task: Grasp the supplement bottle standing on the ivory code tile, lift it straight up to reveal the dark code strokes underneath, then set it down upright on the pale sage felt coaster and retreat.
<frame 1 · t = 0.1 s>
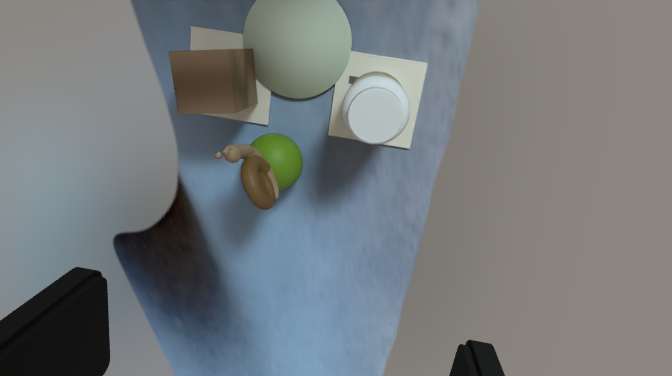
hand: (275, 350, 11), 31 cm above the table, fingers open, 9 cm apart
felt coaster: (297, 42, 38), on the table
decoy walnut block: (230, 77, 39), resting on code tile B, touching felt coaster
snail figurine: (278, 150, 42), on the table
supplement bottle: (376, 100, 39), resting on code tile A
code tile A: (376, 100, 39), on the table
code tile B: (231, 76, 39), on the table
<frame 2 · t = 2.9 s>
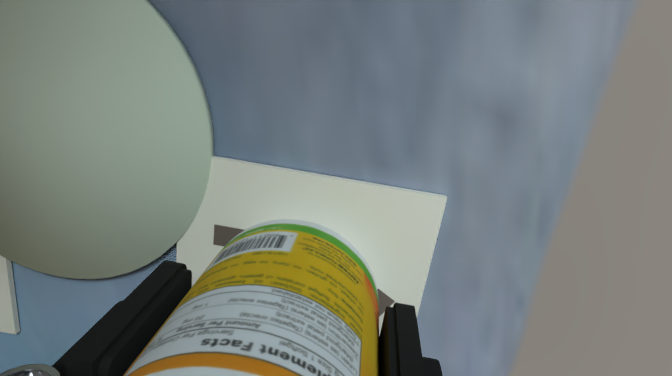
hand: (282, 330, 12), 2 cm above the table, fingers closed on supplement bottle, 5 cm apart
felt coaster: (55, 128, 13), on the table
supplement bottle: (296, 287, 14), resting on code tile A, touching gripper
code tile A: (296, 287, 14), on the table
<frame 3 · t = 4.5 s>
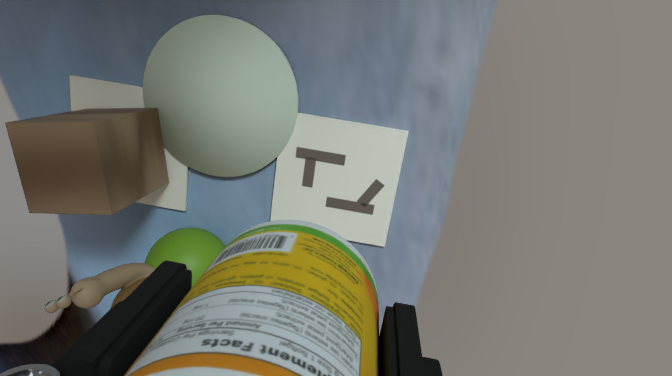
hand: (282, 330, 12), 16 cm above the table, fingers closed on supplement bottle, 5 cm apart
felt coaster: (221, 99, 26), on the table
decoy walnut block: (128, 146, 27), resting on code tile B, touching felt coaster
snail figurine: (203, 243, 30), on the table
supplement bottle: (296, 288, 14), point 14 cm above the table, touching gripper
code tile A: (335, 180, 27), on the table
code tile B: (131, 145, 28), on the table
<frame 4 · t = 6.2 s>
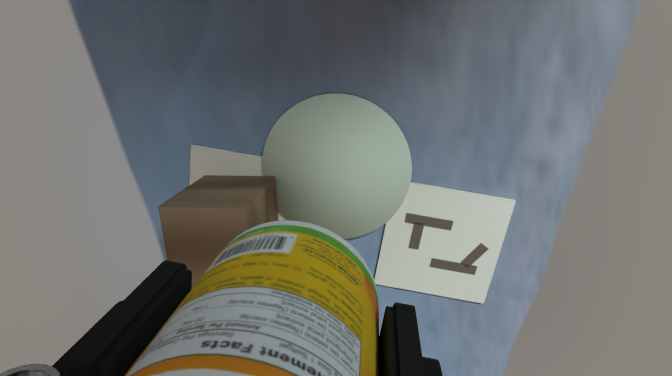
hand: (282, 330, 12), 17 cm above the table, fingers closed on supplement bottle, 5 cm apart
felt coaster: (336, 169, 28), on the table
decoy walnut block: (243, 209, 29), resting on code tile B, touching felt coaster
supplement bottle: (296, 288, 14), point 15 cm above the table, touching gripper
code tile A: (440, 243, 29), on the table
code tile B: (244, 208, 29), on the table
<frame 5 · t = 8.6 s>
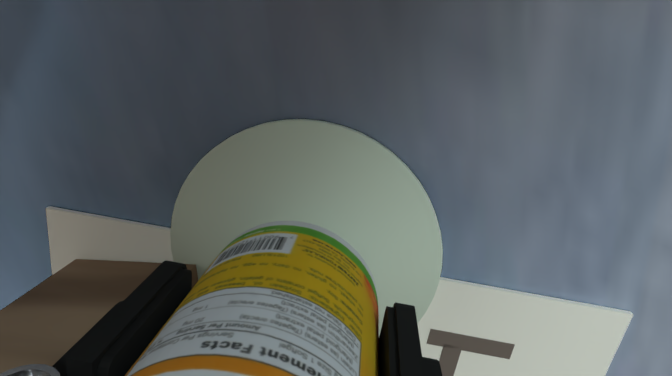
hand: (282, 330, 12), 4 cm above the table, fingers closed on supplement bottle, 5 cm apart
felt coaster: (304, 252, 15), on the table
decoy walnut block: (146, 316, 17), resting on code tile B, touching felt coaster, gripper
supplement bottle: (296, 289, 14), point 2 cm above the table, touching gripper
code tile B: (150, 311, 17), on the table
when the fingers open (4 cm above the table, at t = 9.6 s): supplement bottle drops 2 cm, resting on felt coaster.
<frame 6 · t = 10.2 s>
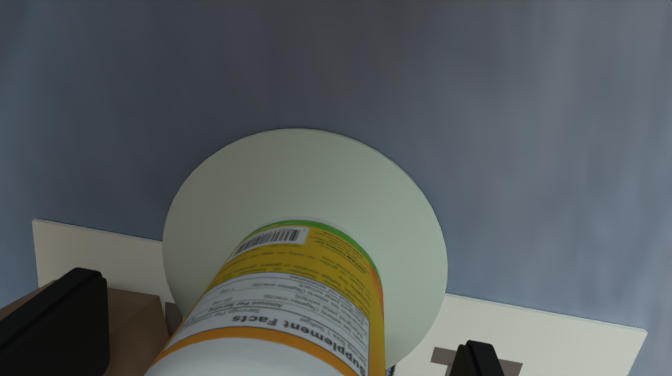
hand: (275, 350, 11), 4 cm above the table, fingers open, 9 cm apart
felt coaster: (302, 267, 15), on the table
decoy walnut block: (120, 344, 16), point 1 cm above the table, tilted 14°, touching code tile B, gripper
supplement bottle: (306, 280, 15), resting on felt coaster
code tile B: (141, 327, 16), on the table
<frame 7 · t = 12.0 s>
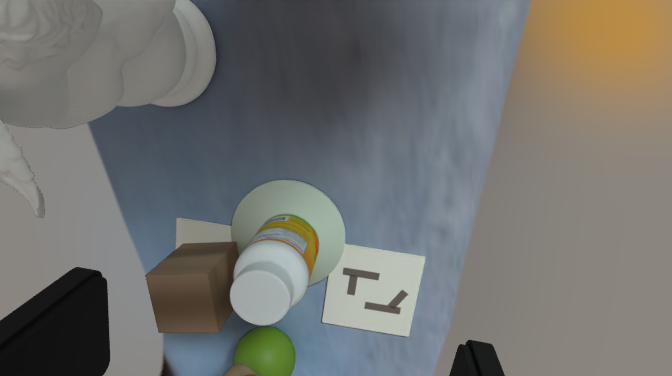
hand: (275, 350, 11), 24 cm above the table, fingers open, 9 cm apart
felt coaster: (288, 234, 36), on the table
cherub figurine: (170, 76, 33), on the table
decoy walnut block: (214, 268, 37), resting on code tile B, touching felt coaster
snail figurine: (269, 333, 39), on the table
supplement bottle: (290, 239, 36), resting on felt coaster
code tile A: (371, 289, 37), on the table
code tile B: (219, 264, 37), on the table
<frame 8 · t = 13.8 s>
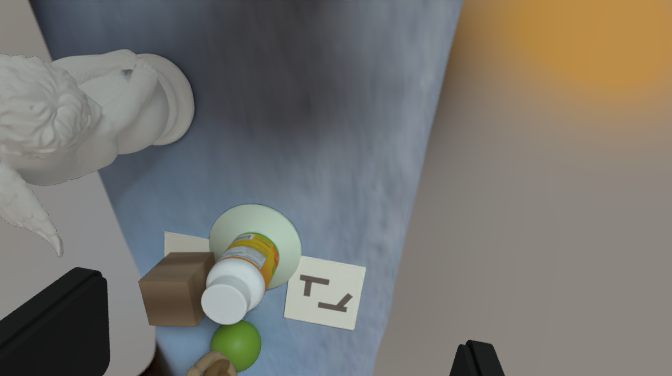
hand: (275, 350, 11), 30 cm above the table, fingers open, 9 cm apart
felt coaster: (255, 247, 44), on the table
cherub figurine: (158, 120, 41), on the table
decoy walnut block: (195, 272, 46), resting on code tile B, touching felt coaster
snail figurine: (242, 325, 48), on the table
supplement bottle: (256, 251, 44), resting on felt coaster
code tile A: (323, 292, 45), on the table
code tile B: (199, 269, 46), on the table
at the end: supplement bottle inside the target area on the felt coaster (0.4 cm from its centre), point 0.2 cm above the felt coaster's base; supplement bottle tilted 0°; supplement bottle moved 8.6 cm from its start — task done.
